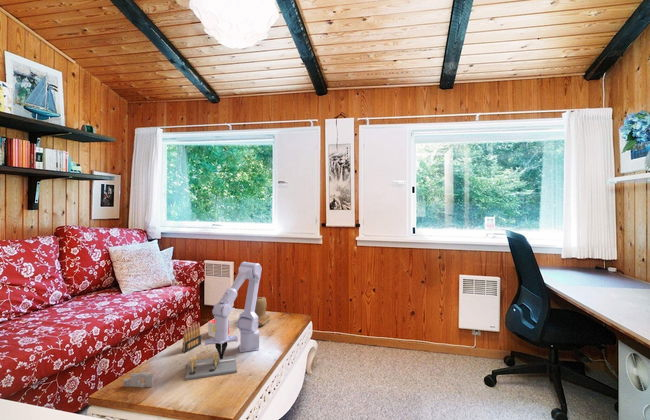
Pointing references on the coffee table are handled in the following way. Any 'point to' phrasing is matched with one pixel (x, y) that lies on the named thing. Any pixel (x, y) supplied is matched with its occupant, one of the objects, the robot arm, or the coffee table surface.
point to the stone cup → (261, 310)
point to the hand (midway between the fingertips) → (221, 358)
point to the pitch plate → (210, 367)
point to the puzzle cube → (213, 328)
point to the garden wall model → (136, 382)
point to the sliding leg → (215, 358)
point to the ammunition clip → (191, 338)
